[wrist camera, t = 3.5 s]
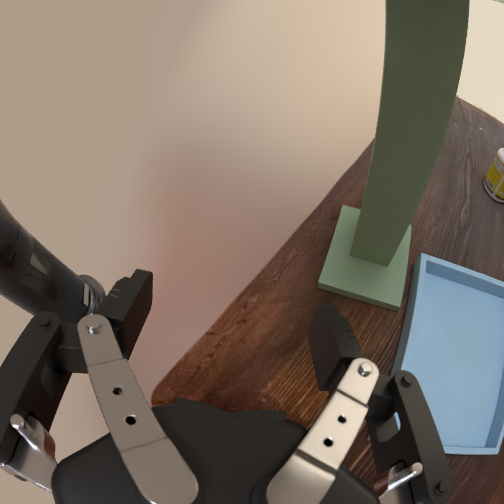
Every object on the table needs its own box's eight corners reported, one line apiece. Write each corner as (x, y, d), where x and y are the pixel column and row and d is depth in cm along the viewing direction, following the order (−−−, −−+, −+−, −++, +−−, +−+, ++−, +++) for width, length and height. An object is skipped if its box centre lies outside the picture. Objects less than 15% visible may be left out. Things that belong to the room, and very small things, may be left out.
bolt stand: (317, 287, 31) (321, -66, 4) (341, 211, 36) (351, -42, 9) (396, 311, 28) (541, 7, 1) (408, 231, 33) (473, -10, 6)
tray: (366, 439, 21) (374, 443, 18) (413, 265, 30) (421, 252, 28) (483, 453, 15) (497, 454, 12) (508, 298, 24) (520, 288, 22)
